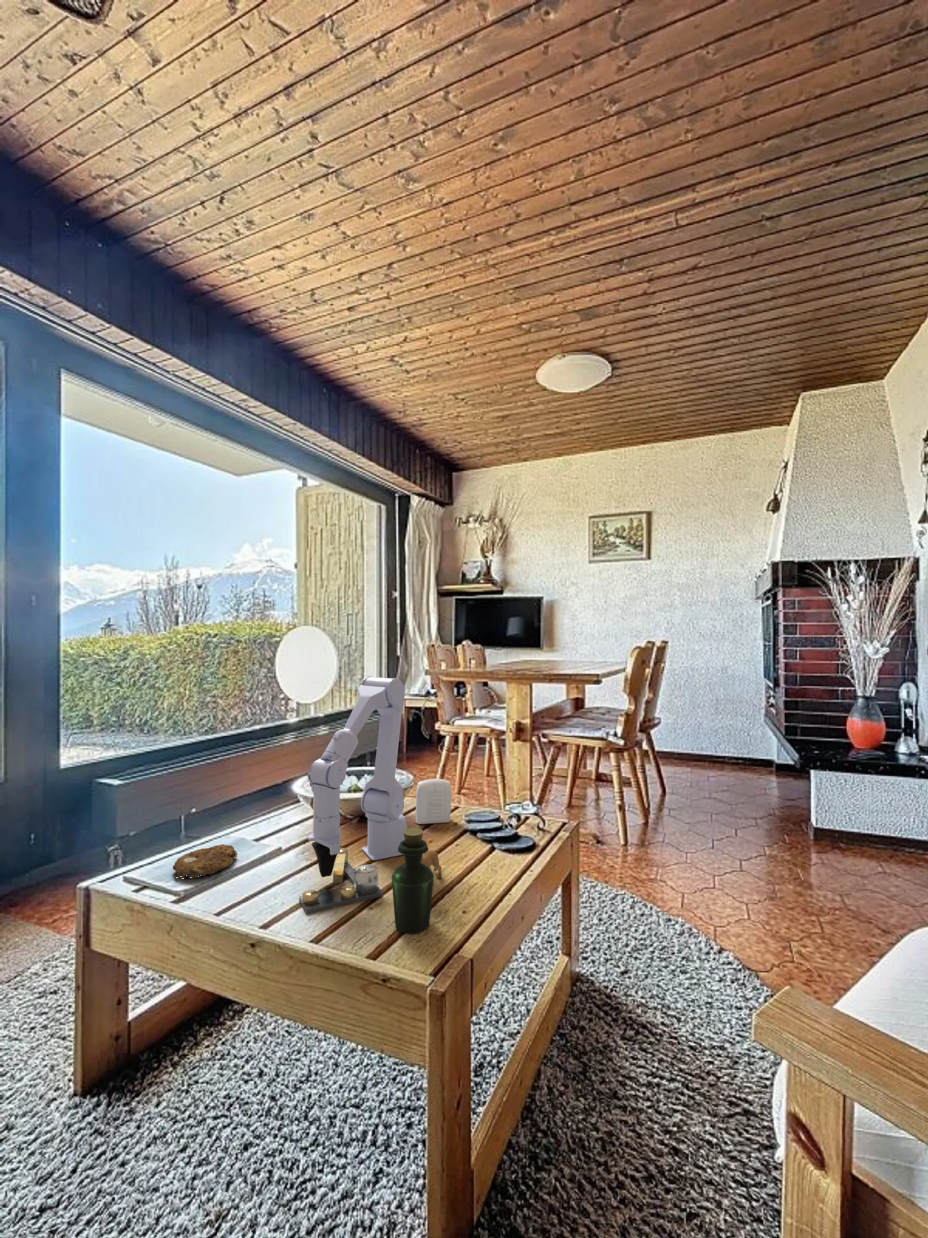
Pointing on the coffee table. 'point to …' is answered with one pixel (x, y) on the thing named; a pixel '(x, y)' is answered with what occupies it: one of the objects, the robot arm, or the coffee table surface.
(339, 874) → the lever
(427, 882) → the potion bottle
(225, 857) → the decorative rock
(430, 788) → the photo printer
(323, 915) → the coffee table surface
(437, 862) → the lion figurine
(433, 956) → the coffee table surface
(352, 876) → the levelling base
